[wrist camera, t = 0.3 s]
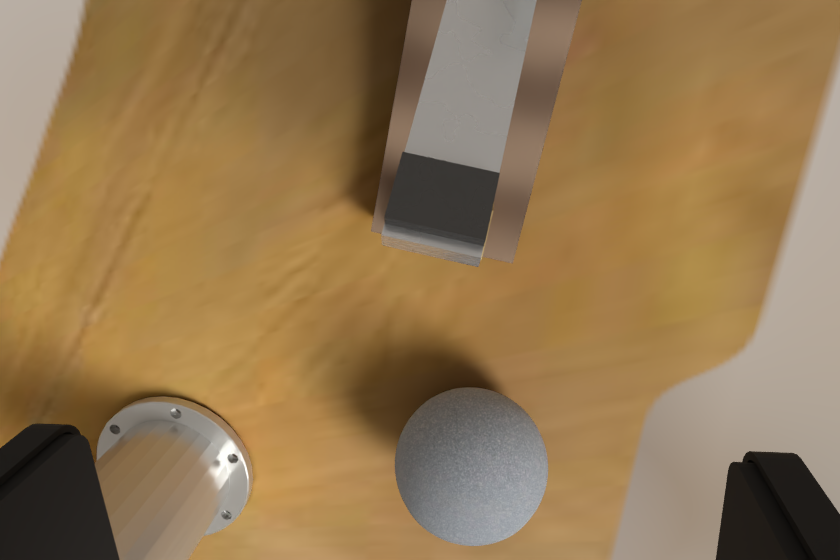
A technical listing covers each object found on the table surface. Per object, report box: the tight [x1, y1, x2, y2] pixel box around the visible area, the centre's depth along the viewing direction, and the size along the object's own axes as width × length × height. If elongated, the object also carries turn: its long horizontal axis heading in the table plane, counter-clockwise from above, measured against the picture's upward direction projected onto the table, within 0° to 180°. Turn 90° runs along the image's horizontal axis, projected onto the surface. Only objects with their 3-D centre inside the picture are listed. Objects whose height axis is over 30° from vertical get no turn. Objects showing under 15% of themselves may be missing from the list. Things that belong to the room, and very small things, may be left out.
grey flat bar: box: [381, 0, 537, 267], centre depth 28 cm, size 17×5×2 cm
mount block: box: [371, 0, 582, 263], centre depth 36 cm, size 19×9×5 cm, turn 169°
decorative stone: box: [395, 387, 548, 546], centre depth 42 cm, size 10×10×10 cm
